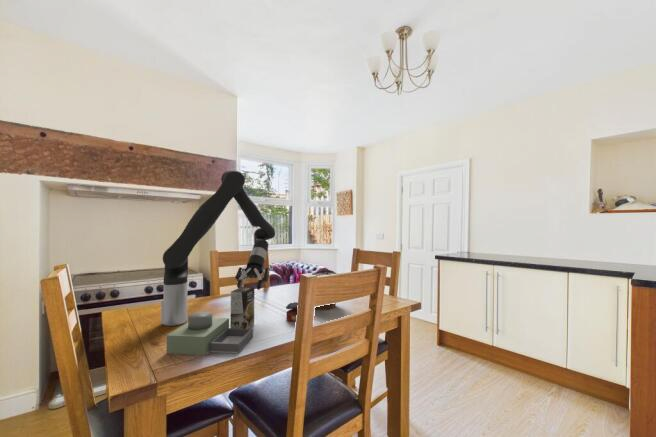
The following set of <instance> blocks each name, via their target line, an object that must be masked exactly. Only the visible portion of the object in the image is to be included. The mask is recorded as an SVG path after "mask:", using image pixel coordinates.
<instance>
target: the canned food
mask: <svg viewBox="0 0 656 437" xmlns="http://www.w3.org/2000/svg"><path fill="white" fill-rule="evenodd" d="M298 303H299V302H295V301H294V302H290V303H288V304H287V305H286V306H285V309H286V310H287V311H286V320H287V321H288V322H292V323H297V322H296V315H297V305H298Z"/></svg>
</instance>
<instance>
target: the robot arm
mask: <svg viewBox="0 0 656 437" xmlns="http://www.w3.org/2000/svg"><path fill="white" fill-rule="evenodd" d="M220 177H221V178H220V181H221V183H220V186H219V187H218V189H217V190H216V191H215V193H213V194H212V195H211V196H210V197H209V198H207V200H205V201H204V202H203V203H202V204H201V205H200V206H199V207H198V209H197V210H196V211H195V212H194V213H193V215H192V217H191V218H190V220H188V223H187V224H186V226H185V228H184V229H183V231H182V232H181V234H180V235H179V237H178V238H176V240H175V241H174V242H173V243H172V244H171V245H170V246H169V247H168V248H167V249H166V250H165V251H164V253H163V255H162V262H163V264H164V275H163V301H161V303H160V304H161V306H160V325H163V326H167V327H170V326H171V327H172V326H179V325H180V326H181V325H182V324H183V325H184V324H186V323H188V278H189V277H188V275H189V256H190V254H191V252H192V251H193V249H194V248H195V246H196V245H197V244H198V243H199V241H200V240H201V239H202V238H203V237H204V236H205V235H206V234H207V233H208V232H209V231H210V229H212V228H213V226H214V225H215V223H217V221H218V219H219V218H220V216H221V215H222V213H223V212H224V211H225V209H226V208H227V206H228V205H229V203H230V202H231V201H232V199H233V198H234V200H235V202H236V203H237V204H238V206H239V207H240V209H241V210H242V212H243V213H244V216H245V217H246V219H247V220H248V222H249V224H250V225H251V226H252V227H253V228H255V227H256V230H254V233H253V247H252V249H251V252H250V255H249V257H248V261H247V264H246V266H245V268H242V267H241V266H240V267H239V268H238V270H237V271H236V273H235V274H236V275H235V280H236V282H237V284H236V287H237V289H238V288H240V287H243V283H244V281H246V280H248V279H257V278H258V281H257V285H256V289H257V290H258V291H260V290H261V289H262V286H263V284H264V283H267V282H268V279H269V273H270V270H269V268H268V267H265V268H264V266H265V261H266V259H267V253H268V249H269V242H268V241H269V240H273V238H275V236H276V231H275V228H274V226H272V225H271V223H269V221H267V220H266V219H265V218H264V216H263V215H262V213H261V211H260V209H259V207H258V206H257V205H256V204H255V202H253V199H251V198H250V196H249V195H248V194H247V192H246V190H245V189H244V186H245V181H246V178H245V175H244V174H243V173H242V172H241V171H239V170H231V169H230V170H227V171H224V172H223V173H222V175H221V176H220ZM262 274H264V275H263V277H262V276H261V275H262Z"/></svg>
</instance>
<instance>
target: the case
mask: <svg viewBox="0 0 656 437" xmlns="http://www.w3.org/2000/svg"><path fill="white" fill-rule="evenodd" d="M331 274H338V273H336V272H335V271H334V270H330V269H320V270H318V271H315V272H314V273H312V274H311V275H317V276H320V275H331ZM336 304H337V302H336V303H335V304H330V305H324V306H320V307H316V308H315V309H314V310H315V311H329V310H332V309H334V308H335V307H336Z"/></svg>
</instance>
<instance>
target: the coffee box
mask: <svg viewBox="0 0 656 437" xmlns="http://www.w3.org/2000/svg"><path fill="white" fill-rule="evenodd" d="M253 326H255V287H252V286H242V287H240V288H238V287H237V288H235V289H234V290H231V291H230V323H229V328H239V329H252V327H253Z"/></svg>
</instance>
